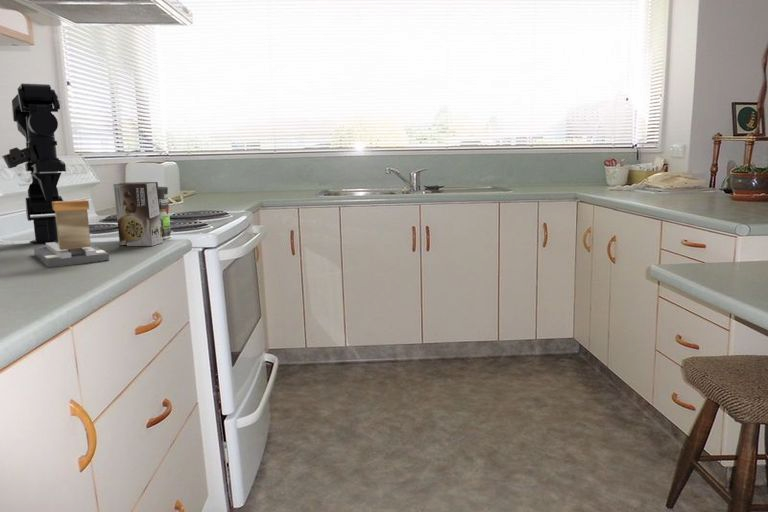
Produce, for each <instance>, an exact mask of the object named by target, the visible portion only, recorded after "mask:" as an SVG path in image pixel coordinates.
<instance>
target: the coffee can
mask: <svg viewBox="0 0 768 512" xmlns="http://www.w3.org/2000/svg"><path fill="white" fill-rule="evenodd" d="M168 190H169V189H168V186H158V193H159V204H160V216H161V228H162V239H163V240H166V239H171V238H172V234H171V233H172V232H171V222H170V221H171V219H170V218H171V217H170V208H169V207H170V205H169V196H168V195H169V194H168V193H169V192H168Z"/></svg>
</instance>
